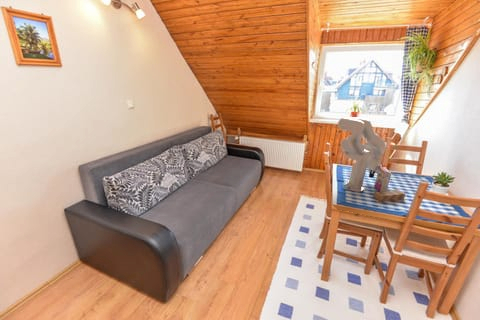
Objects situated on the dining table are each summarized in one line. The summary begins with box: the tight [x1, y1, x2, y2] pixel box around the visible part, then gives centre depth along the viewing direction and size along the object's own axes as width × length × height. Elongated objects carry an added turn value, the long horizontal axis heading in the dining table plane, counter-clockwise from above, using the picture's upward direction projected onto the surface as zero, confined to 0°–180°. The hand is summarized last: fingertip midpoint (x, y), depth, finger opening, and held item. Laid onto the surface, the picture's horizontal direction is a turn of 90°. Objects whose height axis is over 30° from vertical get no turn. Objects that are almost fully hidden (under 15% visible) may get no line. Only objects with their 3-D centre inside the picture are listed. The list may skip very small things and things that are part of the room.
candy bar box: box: [374, 166, 392, 192], centre depth 168 cm, size 11×5×16 cm, turn 168°
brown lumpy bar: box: [373, 189, 406, 203], centre depth 156 cm, size 20×6×5 cm, turn 102°
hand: (371, 177), depth 180 cm, fingers closed
